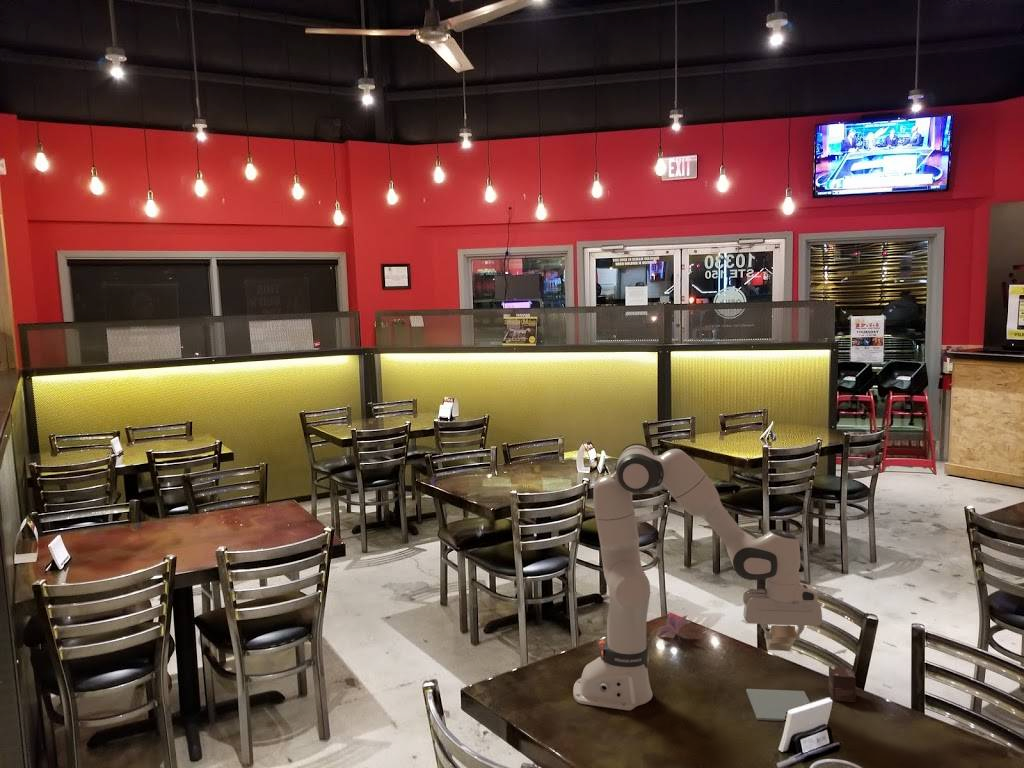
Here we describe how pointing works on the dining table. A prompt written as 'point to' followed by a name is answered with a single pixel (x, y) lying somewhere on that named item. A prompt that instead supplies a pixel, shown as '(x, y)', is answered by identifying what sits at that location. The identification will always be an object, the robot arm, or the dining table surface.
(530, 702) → the dining table surface
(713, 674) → the dining table surface
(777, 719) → the placemat
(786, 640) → the birch slab
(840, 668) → the box
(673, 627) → the lily
